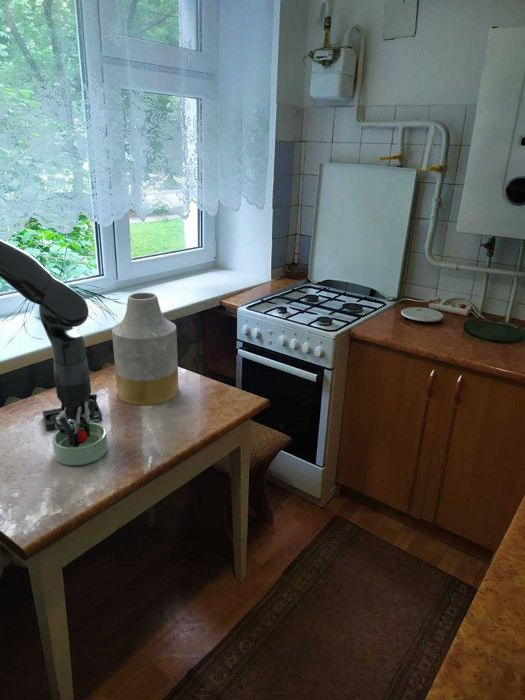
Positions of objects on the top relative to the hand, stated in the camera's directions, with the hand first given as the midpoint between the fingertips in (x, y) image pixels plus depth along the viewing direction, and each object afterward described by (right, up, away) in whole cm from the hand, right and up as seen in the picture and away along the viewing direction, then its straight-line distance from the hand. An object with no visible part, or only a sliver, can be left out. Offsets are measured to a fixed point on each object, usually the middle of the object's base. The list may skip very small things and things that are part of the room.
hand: (80, 441), depth 120 cm
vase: (+9, +9, +33) cm, 35 cm away
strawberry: (0, -1, -1) cm, 1 cm away
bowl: (0, -3, +1) cm, 3 cm away
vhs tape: (-8, +3, +16) cm, 18 cm away
